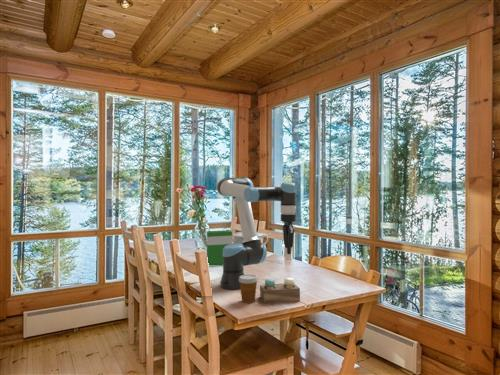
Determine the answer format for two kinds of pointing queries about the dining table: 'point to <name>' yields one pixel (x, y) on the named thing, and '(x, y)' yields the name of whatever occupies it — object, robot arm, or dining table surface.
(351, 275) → the dining table surface
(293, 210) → the robot arm
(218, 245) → the hardback book
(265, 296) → the mount
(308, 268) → the dining table surface
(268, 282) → the knob
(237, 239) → the chamber pot
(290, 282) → the knob
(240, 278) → the disposable coffee cup
